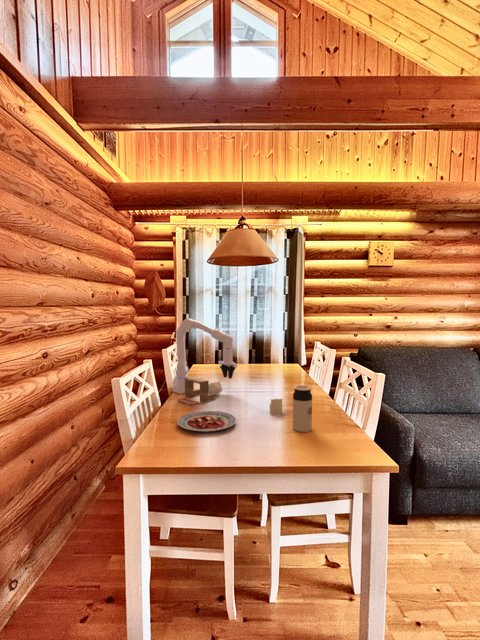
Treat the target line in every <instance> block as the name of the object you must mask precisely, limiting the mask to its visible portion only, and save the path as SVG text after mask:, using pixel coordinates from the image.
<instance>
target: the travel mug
mask: <svg viewBox="0 0 480 640" xmlns="http://www.w3.org/2000/svg"><path fill="white" fill-rule="evenodd" d="M293 389H294V392H293V394H292V429H293V430H294V431H296V432H298V433H299V432H300V433H308V432H310V431H312V428H313V427H312V426H313V394H312V393H311V391H312V387H311V386H309V385H306V384H305V385H303V384H301V385H300V384H299V385H294V386H293Z"/></svg>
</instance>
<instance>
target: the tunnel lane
mask: <svg viewBox="0 0 480 640" xmlns="http://www.w3.org/2000/svg"><path fill="white" fill-rule="evenodd" d="M209 383H210V382H209V380H207V379H204V378H198V377H195V376H188V377H186V378H185V393H184V397H186V398H191V397H197V396H199V404H203V403H207V402H210V401H214V400H216V396H215V394H209ZM194 384H199V389H194V388H195V387H194V386H195V385H194Z"/></svg>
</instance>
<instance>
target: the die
mask: <svg viewBox="0 0 480 640" xmlns="http://www.w3.org/2000/svg"><path fill="white" fill-rule="evenodd" d="M222 391H223V387H222V384H221V382H220V381H216V380H211V381H210V382H209V394H215V397H218V396H219V395H220V394H221V392H222Z"/></svg>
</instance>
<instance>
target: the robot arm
mask: <svg viewBox="0 0 480 640" xmlns="http://www.w3.org/2000/svg"><path fill="white" fill-rule="evenodd" d="M179 324H180V325H179V326H178V328H177V329H176V331H175V336H176V337H175V338H176V340H175V341H176V353H177V354H176V356H177V363H176V364H177V365H176V371H175V375H176V376H174V377H173V380H172V384H173V385H172V387H173V388H172V390H171V391H172V392H173V393H174V392H175V393H177V394H181V395H182V394H185V378H186V377H189V375H188V373H189V370H190V369H189V367H188V363H187V360H186V359H187V358H186V357H187V354H186V341H185V334H186V333H188V331H190V330H191V329H193V330H195V329H196V330H197V329H199V330H201V331H203V332H206V333H207V334H209V335H210V336H211V338H213V339H215V340H216V341H218V342H220V343H221V342H222V345H223V346H222V360H218V365H220V366H219V368H220V370H221V372H222V375H223V378H227V377H228V379H229V380H230V379H232V378H233V377H234V376H233V375H234V373H235V369H236V368H238V363H235V362H234V361H233V359H234V358H233V357H234V356H233V353H234V351H233V350H234V348H233V343H234V342H233V341H234V339H233V336H232V335H230V334H228V333H227V332H223V331H222V330H221V329H220V328H214V329H213V328H211V327H209V326H208V325H206V324H205V323H202V322H200V321H198V320H196V319H193V318H185V319H184V320H182V321H181V322H180V323H179Z"/></svg>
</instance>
